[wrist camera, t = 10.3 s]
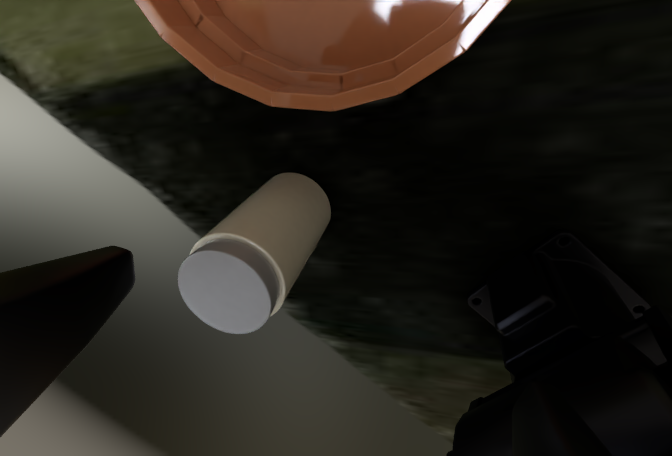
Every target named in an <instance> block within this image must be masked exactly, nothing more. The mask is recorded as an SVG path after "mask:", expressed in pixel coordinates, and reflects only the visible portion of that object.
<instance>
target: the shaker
mask: <svg viewBox="0 0 672 456" xmlns="http://www.w3.org/2000/svg"><path fill="white" fill-rule="evenodd" d="M330 218H331V208H330V203H329V200H328V198H327V196H326V194H325V192H324V191H323V189H322V188H321V187H320V186H319V185H318V184H317V183H316V182H315V181H313V180H312V179H310V178H308V177H306V176H304V175H301V174H298V173H282V174H278V175H276V176H274V177H272V178H271V179H269V180H268V181H267V182H266V183H265V184H264V185H262V186H261V187H260V188H259V189H258V190H257V191H255V192H254V193H253V194H252V195H251V196H250V197H249V198H247V199H246V200H245V201H244V202H243V203H242V204H240V205H239V206H238V207H237V208H236V209H235V210H233V211H232V212H231V213H230V214H229V215H228V216H226V217H225V218H224V219H223V220H222V221H221V222H220V223H218V224H217V225H216V226H215V227H214V228H213V229H211V230H210V231H209V232H208V233H207V234H206V235H204V236H203V237H202V238H201V239H200V240H199V241H197V243H196V244H195V245H194V246H193V248H192V250H191V252H190V255H189V256H188V257H187V258H186V259H185V260H184V261H183V262H182V264H181V266H180V269H179V272H178V287H179V290H180V293H181V296H182V298H183V300H184V301H185V303H186V305H187V306H188V307H189V309H190V310H191V311H192V312H193V313H194V314H195V315H196V316H197V317H198V318H199V319H201V320H202V321H204V322H205V323H206V324H208V325H210V326H211V327H213V328H215V329H218V330H220V331H223V332H227V333H233V334H246V333H250V332H253V331H256V330H257V329H259V328H261V327H262V326H263V325H264V324H265V323H266V322H267V320H268V319H269V317H270V316H272V315H274V314H275V313H276V312H277V311H278V310H279V309H280V308H281V306H282V304H283V303H284V301H285V299H286V297H287V296H288V294H289V292H290V291H291V289H292V287H293V285H294V284H295V282H296V280H297V278H298V277H299V275H300V273H301V271H302V270H303V268H304V266H305V265H306V263H307V261H308V259H309V258H310V256H311V254H312V252H313V251H314V249H315V247H316V246H317V244H318V242H319V240H320V239H321V237H322V235H323V233H324V232H325V230H326V228H327V227H328V224H329V222H330Z"/></svg>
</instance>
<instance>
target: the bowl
mask: <svg viewBox="0 0 672 456" xmlns="http://www.w3.org/2000/svg"><path fill="white" fill-rule="evenodd" d="M134 1H135V2H136V3H137V5H138V6H139V7H140V9H141V10H142V12H143V13H144V14H145V16H146V17H147V19H148V20H149V21H150V23H151V24H152V26H153V27H154V28H155V30H156V31H157V33H158V34H159V35H160V36H161V37H162V39H163V40H165V41H166V42H167V43H168V44H169V45H170V46H172V47H173V48H174V49H175V50H176V51H178V52H179V53H180V54H181V55H182V56H183V57H185V58H186V59H187V60H188V61H189V62H191V63H192V64H193V65H194V66H195V67H197V68H198V69H199V70H200V71H201V72H202V73H204V74H205V75H206V76H207V77H208V78H210V79H211V80H212V81H214V82H215V83H218V84H220V85H222V86H225V87H227V88H229V89H232V90H234V91H236V92H239V93H241V94H243V95H245V96H248V97H250V98H252V99H255V100H257V101H259V102H262V103H264V104H266V105H268V106H272V107H281V108H293V109H305V110H318V111H330V112H332V111H338V110H342V109H346V108H350V107H354V106H357V105H361V104H365V103H369V102H373V101H377V100H381V99H384V98H388V97H392V96H396V95H398V94H401V93H402V92H404V91H405V90H407V89H409V88H410V87H412V86H413V85H415V84H416V83H418V82H420V81H421V80H423V79H424V78H426V77H427V76H429V75H431V74H432V73H434V72H435V71H437V70H438V69H440V68H441V67H443V66H445V65H446V64H448V63H449V62H451V61H452V60H454V59H456V58H457V57H459V56H460V55H462V54H463V53H464V52H465V51H467V50H468V49H469V48H470V47H471V46H472V45H473V43H474V42H475V41H476V40H477V39H478V38H479V37H480V36H481V34H482V33H483V32H484V31H485V30H486V29H487V28H488V27H489V25H490V24H491V23H492V22H493V21H494V20H495V19H496V18H497V16H498V15H499V14H500V13H501V12H502V11H503V10H504V9H505V7H506V6H507V5H508V4H509V3H510V2H511V1H512V0H134Z"/></svg>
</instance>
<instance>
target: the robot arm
mask: <svg viewBox="0 0 672 456" xmlns="http://www.w3.org/2000/svg"><path fill="white" fill-rule="evenodd" d="M563 237H567V240H566V241H565V242H558V241H559V240H560V238H563ZM134 282H135V272H134V262H133V255H132V253H131V251H129V250H127V249H124V248H121V247H117V246H109V247H105V248H101V249H96V250H92V251H88V252H85V253H80V254H76V255H72V256H68V257H64V258H59V259H55V260H51V261H47V262H43V263H39V264H35V265H31V266H26V267H23V268H18V269H14V270H10V271H6V272H2V273H0V437H1V436H2V435H3V434H4V433H5V432H6V431H7V430H8V429H9V427H10V426H11V425H12V424H13V423H14V422H15V421H16V420H17V419H18V418H19V417H20V416H21V415H22V414H23V413H24V411H26V410H27V409H28V407H29V406H30V405H31V404H32V403H33V402H34V401H35V400H36V399H37V398H38V397H39V396H40V395H41V393H43V391H45V389H46V388H47V387H48V386H49V385H50V384H51V383H52V382H53V381H54V380H55V379H56V378H57V377H58V376H59V375H60V374H61V373H62V372H63V370H64V369H65V368H66V367H67V366H68V365H69V364H70V363H71V362H72V361H73V360H74V359H75V358H76V357H77V356H78V354H80V352H81V351H82V350H83V349H84V348H85V347H86V346H87V345H88V344H89V343H90V341H91V340H92V339H93V338H94V336H95V335H96V334H97V333H98V331H99V330H100V329H101V327H102V326H103V325H104V323H106V321H107V320H108V319H109V317H110V316H111V315H112V314H113V312H114V311H115V310H116V308H117V307H118V306H119V305H120V303H121V302H122V301H123V299H124V298H125V297H126V296H127V294H128V293H129V292H130V290H131V289H132V287H133V285H134ZM474 298H479V299H480V300H478V301H474V300H473V299H474ZM467 300H468V304H469V306H470V307H472V308H473V309H474V310H475V311H476V312H478V313H479V314H480V315H481V316H482V317H483V318H485V319H486V320H487V321H488V322H489V323H491V324H492V325H493V326H494V327H495V329H496V330H497V331H498V334H499V340H500V345H501V350H502V355H503V360H504V365H505V368H506V369H507V370H508V371H509V372H510V375H511V380H512V384H510V385H508V386H506V387H504V388H502V389H500V390H498V391H496V392H495V393H493V394H491V395H489V396H487V397H485V398H482V397H480V398H478V399H476V400H474V401H472V402H471V403H470V407H469V410H468V412H466V413H465V414H463V415H462V417H461V418H460V420H459V422H458V423H457V425H456V427H455V434H454V441H453V450H452V451H450V452H448V453H447V456H672V318H671V317H670V316H669V315H667V314H666V313H665V312H664V311H663V310H662V309H661V308H660V307H659V306H657V305H655V306H653V307H650V305H649V304H648V303H647V301H646V300H645V299H644V298H643V297H642V296H641V295H640V294H639V293H637V292H636V291H635V290H634V289H633V288H632V287H631V286H630V285H629V284H628V283H626V282H625V281H624V280H623V279H622V278H621V277H620V276H619V275H618V274H617V273H616V272H614V271H613V270H612V269H611V268H610V267H609V266H608V265H607V264H606V263H605V262H603V261H602V260H601V259H600V258H599V257H598V256H597V255H596V254H595V253H594V252H592V251H591V250H590V249H589V248H588V247H587V246H586V245H585V244H584V243H583V242H581V241H580V240H579V239H578V238H577V237H576V236H575V235H574V234H573V233H572V232H570V231H569V230H565V229H561V230H557V231H555V232H554V233H552V234H551V235H550V236H548V237H547V238H545V239H544V240H543V241H541V242H540V243H538V244H537V245H536V246H534V247H533V248H531V249H530V250H528V251H523V252H522V253H520V254H519V255H517V256H516V257H515V258H513V259H512V260H510V261H509V262H508V263H506V264H505V265H503V266H502V267H501V268H499V269H498V270H496V271H495V272H494V273H492V274H491V275H489V276H488V277H487V280H486V281H485V282H483V283H482V284H481V285H479V286H478V287H476V288H475V289H474V290H472V291H471V292H470V293H469V294H468V296H467ZM638 305H640V307H639V308H636V309H635V308H634V307H635V306H638Z"/></svg>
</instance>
